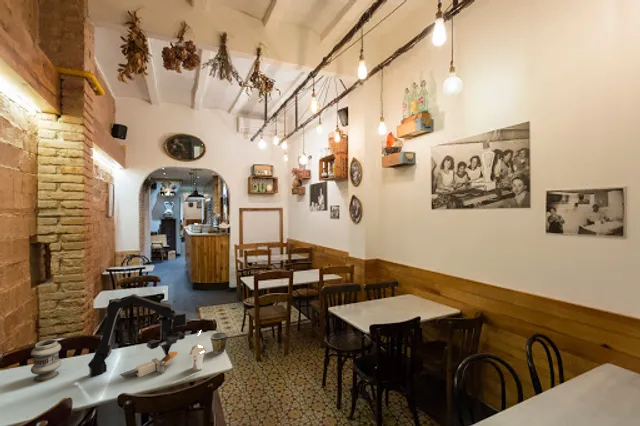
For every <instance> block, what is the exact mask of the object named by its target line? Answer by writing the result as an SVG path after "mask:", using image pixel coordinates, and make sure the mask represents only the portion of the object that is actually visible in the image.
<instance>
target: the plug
mask: <svg viewBox="0 0 640 426" xmlns="http://www.w3.org/2000/svg"><path fill="white" fill-rule="evenodd" d="M135 368H136V371H134V372H132V371H131V373H129V374H127V373H126V374H125V375H126V377H132V376H133V375H134V376H136V375H137V376H136V377H137V378H139V377H140V378H142V377H143V375H144V376H145V375H146V376H147V374H148V375H149V373H150V374H152V373H155V372H156V370H155V363H154V362H153V361H152V360H150V361H147V362H145V363H142V364H140V365H137V366H136V367H135ZM154 371H155V372H154ZM134 376H133V377H134ZM126 377H125V378H126Z"/></svg>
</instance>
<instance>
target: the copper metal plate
mask: <svg viewBox="0 0 640 426" xmlns="http://www.w3.org/2000/svg"><path fill="white" fill-rule="evenodd" d="M177 355H178V351H169V352H168V354H167V355H164V357H162V359H161V360H160V359H159V362H158V365H160V366H164V367H165V366H166V365H167V364H169V363H170V362H171V361H172V360H173V359H174V358H176V356H177Z"/></svg>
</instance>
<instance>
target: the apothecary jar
mask: <svg viewBox="0 0 640 426" xmlns="http://www.w3.org/2000/svg"><path fill="white" fill-rule="evenodd" d="M61 349H62V345H61V344H60V343H59V342H58V340H57V339H45V340H42V341H39V342H37V343H36V344H35V346H34V348H33V349H32V350H31V352H30V356H31V357H32V358H33V365H31V368H30V372H31V373H32V374H33V375H36V376H35V377H34V378H33V381H34V382H36V383H39V382H46V381H50V380H52V379H53V380H54V379H55V378H56V377H58V376H59V374H60V372H59V371H57V370H58V369H59V368H60V367H61V365H63V364H62V363H63V361H62V359H61V358H59V357H60V356H59V352H60V350H61Z"/></svg>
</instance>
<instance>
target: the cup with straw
mask: <svg viewBox="0 0 640 426" xmlns="http://www.w3.org/2000/svg"><path fill="white" fill-rule="evenodd" d="M201 333H202V329H200V331H199V332H198V333H197V334H196V335H197V336H196V344H194V345H193V346H192V347H191V349H190V350H189V352H188V355H189V356H190V359H191V365H192V370H193V371H196V373H199V372H201V371H202V370H203V369H202V368H203V362H204V356H205V354H206V352H207V350H206V348H205V347H204V345H202V344H201V343H199V336H200V334H201Z"/></svg>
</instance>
